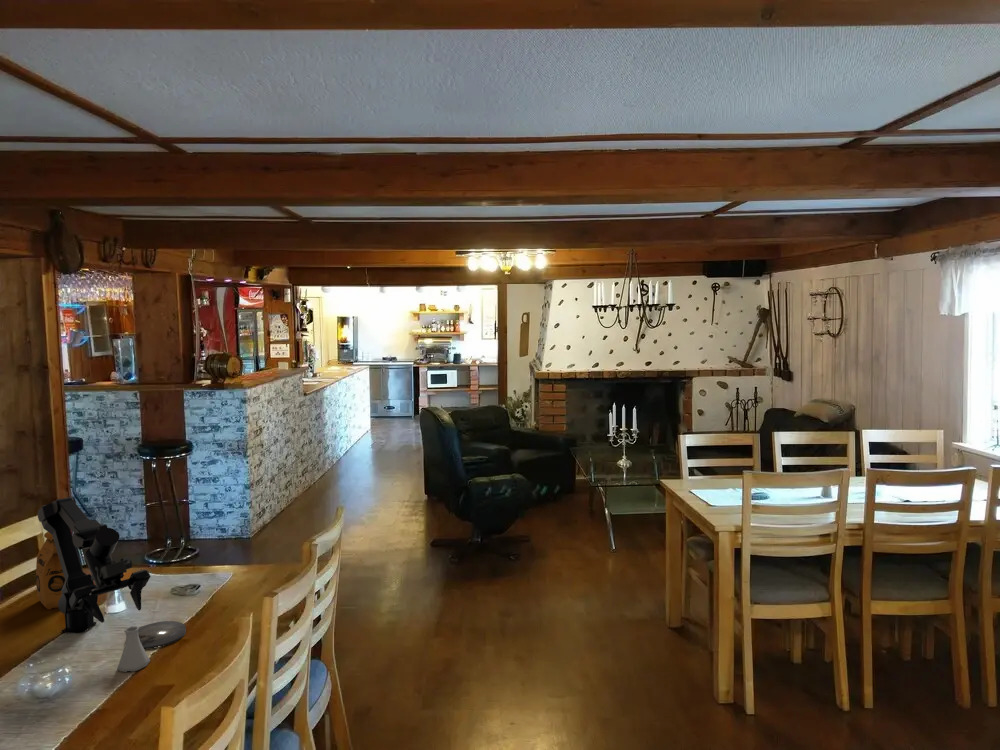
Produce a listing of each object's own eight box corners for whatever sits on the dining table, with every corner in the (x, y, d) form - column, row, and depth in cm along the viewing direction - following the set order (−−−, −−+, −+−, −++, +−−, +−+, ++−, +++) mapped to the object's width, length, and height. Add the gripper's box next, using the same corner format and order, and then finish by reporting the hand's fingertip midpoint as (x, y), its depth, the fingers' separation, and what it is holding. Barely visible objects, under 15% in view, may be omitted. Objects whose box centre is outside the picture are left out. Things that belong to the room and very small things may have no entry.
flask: (136, 674, 173) (133, 636, 173) (111, 671, 175) (109, 633, 174) (155, 660, 181) (153, 623, 180) (131, 658, 182) (129, 621, 181)
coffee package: (39, 612, 211) (35, 543, 209) (36, 600, 221) (31, 533, 219) (77, 604, 217) (73, 536, 215) (72, 592, 227) (68, 527, 225)
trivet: (114, 648, 187) (114, 643, 187) (148, 624, 202) (148, 619, 202) (166, 650, 186) (165, 645, 186) (196, 625, 201) (196, 621, 201)
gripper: (70, 559, 175) (91, 612, 169) (145, 540, 190) (166, 588, 184) (60, 582, 180) (80, 634, 174) (134, 562, 195) (154, 609, 189)
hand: (122, 615), depth 180 cm, fingers open, 9 cm apart
